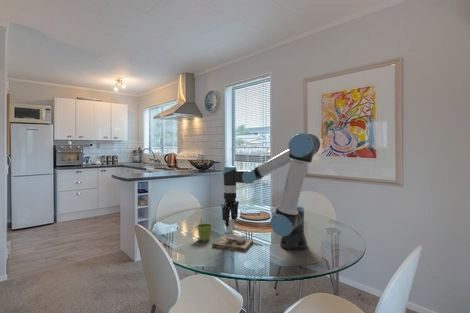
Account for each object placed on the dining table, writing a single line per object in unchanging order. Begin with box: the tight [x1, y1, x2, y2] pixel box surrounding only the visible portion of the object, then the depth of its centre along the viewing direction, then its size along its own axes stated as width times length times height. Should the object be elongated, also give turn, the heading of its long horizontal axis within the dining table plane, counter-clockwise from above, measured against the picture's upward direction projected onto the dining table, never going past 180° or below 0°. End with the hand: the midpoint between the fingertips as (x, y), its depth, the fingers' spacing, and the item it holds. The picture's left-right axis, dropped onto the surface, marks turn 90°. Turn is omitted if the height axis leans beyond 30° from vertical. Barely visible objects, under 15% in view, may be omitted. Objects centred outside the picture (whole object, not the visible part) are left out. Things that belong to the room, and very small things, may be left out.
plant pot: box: [196, 223, 213, 242], centre depth 166 cm, size 9×9×9 cm
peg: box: [225, 218, 246, 243], centre depth 160 cm, size 15×6×11 cm, turn 49°
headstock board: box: [211, 235, 254, 252], centre depth 155 cm, size 20×16×2 cm
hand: (230, 230), depth 162 cm, fingers open, 3 cm apart
